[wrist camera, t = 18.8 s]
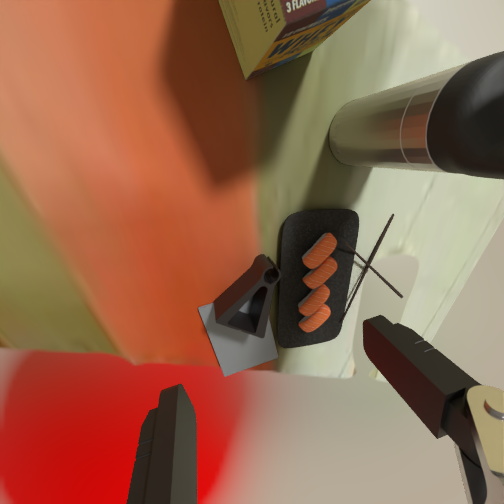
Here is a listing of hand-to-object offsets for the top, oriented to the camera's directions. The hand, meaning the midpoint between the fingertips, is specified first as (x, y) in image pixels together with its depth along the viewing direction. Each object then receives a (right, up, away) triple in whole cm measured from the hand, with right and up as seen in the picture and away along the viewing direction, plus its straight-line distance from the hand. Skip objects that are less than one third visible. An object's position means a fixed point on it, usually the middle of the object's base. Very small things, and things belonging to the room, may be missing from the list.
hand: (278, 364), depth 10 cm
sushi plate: (+18, 0, +39) cm, 43 cm away
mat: (-3, -12, +37) cm, 39 cm away
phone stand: (-4, -7, +31) cm, 32 cm away
